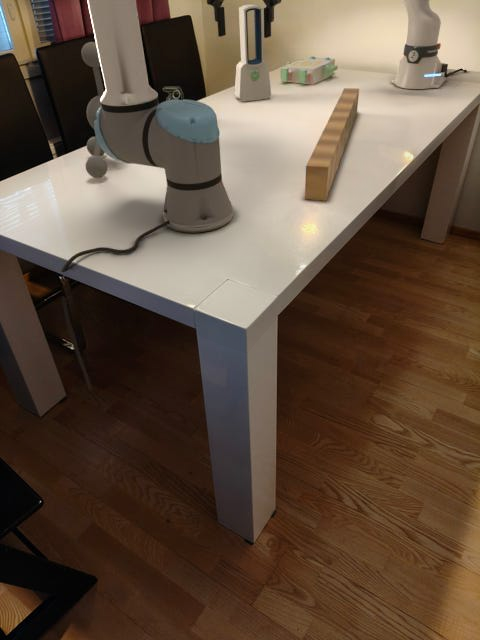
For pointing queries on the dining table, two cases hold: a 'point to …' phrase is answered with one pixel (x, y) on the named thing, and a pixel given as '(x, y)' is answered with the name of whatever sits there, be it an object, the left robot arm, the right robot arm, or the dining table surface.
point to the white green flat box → (308, 70)
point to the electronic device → (252, 72)
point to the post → (331, 146)
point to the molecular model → (94, 113)
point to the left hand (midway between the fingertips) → (244, 36)
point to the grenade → (173, 93)
